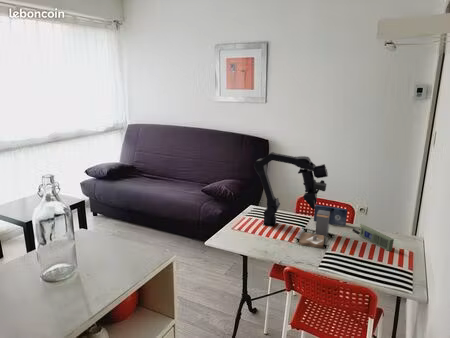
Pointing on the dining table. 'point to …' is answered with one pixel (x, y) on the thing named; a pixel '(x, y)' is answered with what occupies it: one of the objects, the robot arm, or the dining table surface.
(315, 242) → the board
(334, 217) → the vhs cassette tape
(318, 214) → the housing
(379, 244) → the handheld radio
